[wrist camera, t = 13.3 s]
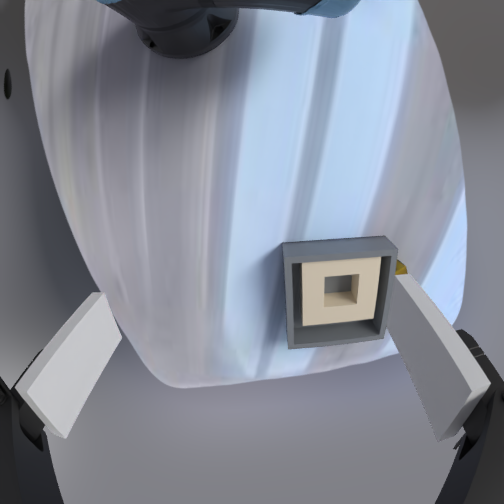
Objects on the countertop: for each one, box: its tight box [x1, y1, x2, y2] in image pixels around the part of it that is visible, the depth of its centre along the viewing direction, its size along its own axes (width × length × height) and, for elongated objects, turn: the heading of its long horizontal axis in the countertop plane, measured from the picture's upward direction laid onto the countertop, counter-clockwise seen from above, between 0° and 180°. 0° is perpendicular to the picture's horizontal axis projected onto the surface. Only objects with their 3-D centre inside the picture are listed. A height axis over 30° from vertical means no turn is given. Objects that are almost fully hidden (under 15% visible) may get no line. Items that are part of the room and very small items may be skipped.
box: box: [282, 236, 398, 349], centre depth 45 cm, size 17×17×6 cm
